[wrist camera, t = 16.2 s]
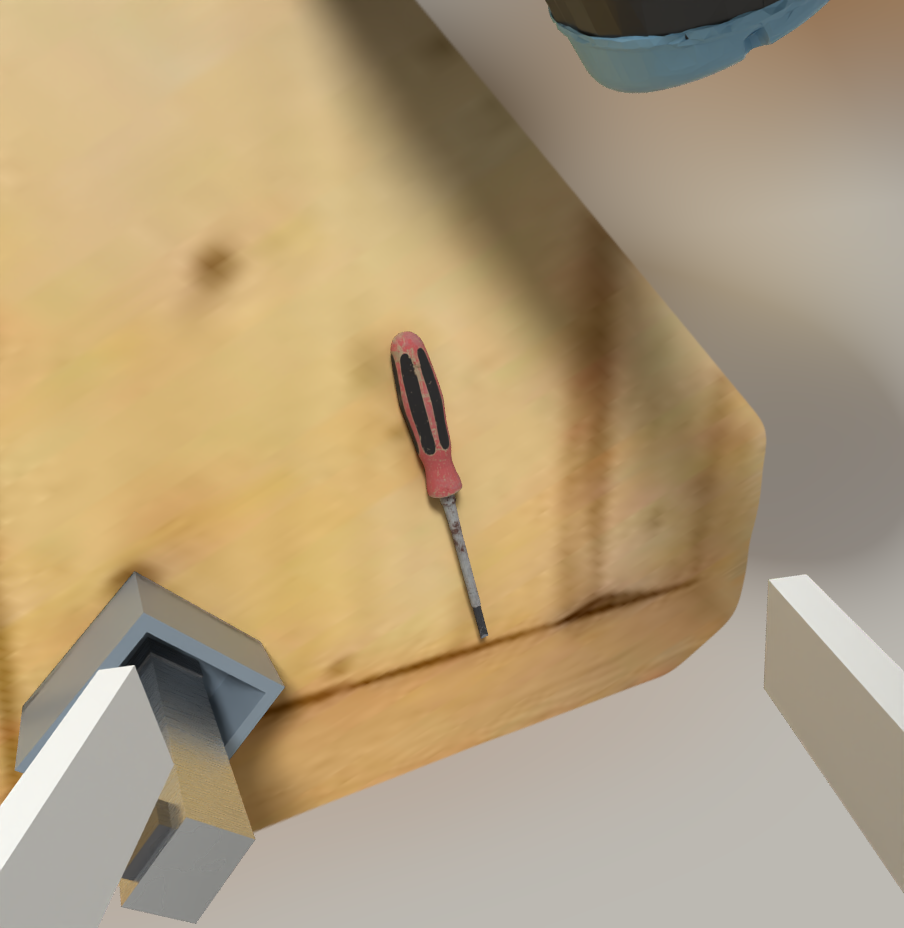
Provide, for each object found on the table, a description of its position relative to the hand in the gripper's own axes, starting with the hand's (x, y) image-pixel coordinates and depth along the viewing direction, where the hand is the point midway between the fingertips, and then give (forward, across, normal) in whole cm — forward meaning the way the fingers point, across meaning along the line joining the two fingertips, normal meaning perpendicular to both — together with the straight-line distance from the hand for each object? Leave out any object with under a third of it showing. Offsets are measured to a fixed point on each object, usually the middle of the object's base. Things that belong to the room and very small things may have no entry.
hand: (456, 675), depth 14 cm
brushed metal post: (+22, -20, -15) cm, 33 cm away
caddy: (+23, -21, -15) cm, 34 cm away
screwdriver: (+34, -2, -11) cm, 35 cm away
